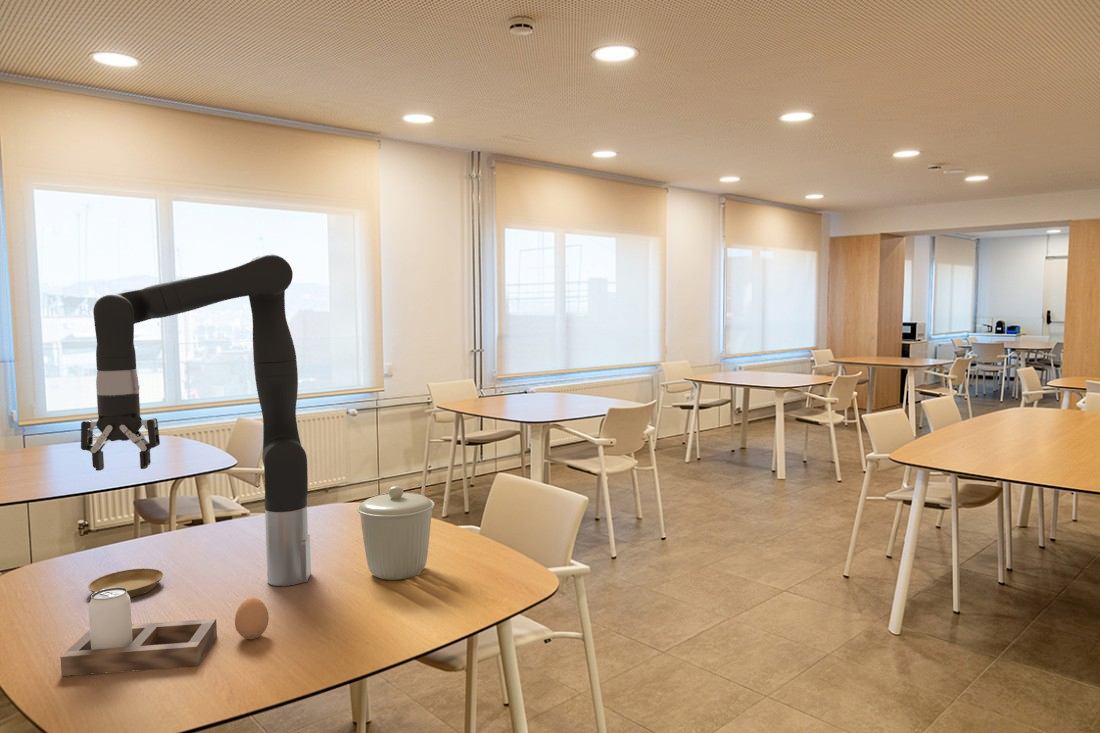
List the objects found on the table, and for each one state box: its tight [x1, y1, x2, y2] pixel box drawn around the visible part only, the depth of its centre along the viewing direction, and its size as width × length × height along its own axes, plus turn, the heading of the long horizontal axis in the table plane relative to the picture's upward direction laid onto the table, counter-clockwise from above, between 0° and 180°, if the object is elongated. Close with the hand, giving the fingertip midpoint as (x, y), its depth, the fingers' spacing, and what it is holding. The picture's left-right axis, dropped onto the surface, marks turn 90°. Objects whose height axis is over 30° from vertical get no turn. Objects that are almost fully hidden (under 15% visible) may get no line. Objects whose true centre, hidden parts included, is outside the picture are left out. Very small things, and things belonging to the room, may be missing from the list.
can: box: [88, 587, 133, 650], centre depth 132 cm, size 6×6×12 cm
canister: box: [356, 485, 436, 581], centre depth 174 cm, size 18×18×21 cm
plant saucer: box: [87, 567, 164, 598], centre depth 165 cm, size 15×15×3 cm
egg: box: [234, 596, 270, 640], centre depth 140 cm, size 6×6×8 cm
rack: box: [59, 618, 218, 677], centre depth 133 cm, size 22×12×4 cm, turn 99°
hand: (122, 469), depth 152 cm, fingers open, 8 cm apart
